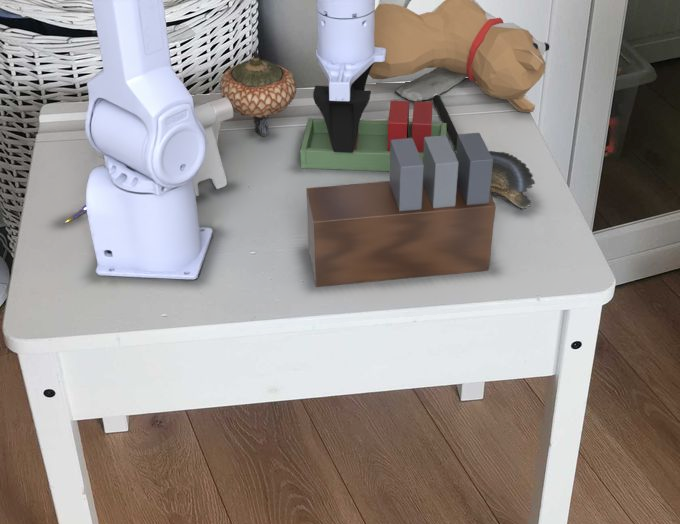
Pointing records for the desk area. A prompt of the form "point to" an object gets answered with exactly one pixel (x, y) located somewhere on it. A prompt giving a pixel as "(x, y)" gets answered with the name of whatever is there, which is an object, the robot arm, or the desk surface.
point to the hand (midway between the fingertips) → (346, 132)
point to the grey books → (440, 171)
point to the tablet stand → (212, 141)
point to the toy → (460, 47)
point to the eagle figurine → (510, 178)
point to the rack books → (400, 122)
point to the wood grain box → (393, 235)
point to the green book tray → (365, 157)
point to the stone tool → (430, 84)
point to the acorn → (258, 90)
